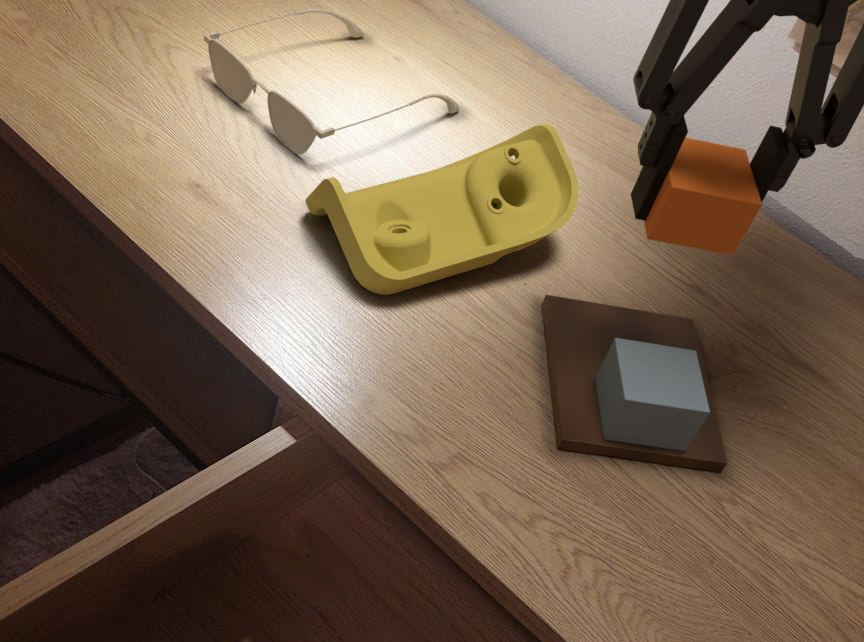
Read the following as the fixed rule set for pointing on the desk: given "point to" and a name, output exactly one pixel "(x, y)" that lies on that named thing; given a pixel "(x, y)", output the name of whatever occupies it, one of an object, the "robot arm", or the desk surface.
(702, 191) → the orange cube
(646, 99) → the robot arm
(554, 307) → the board
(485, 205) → the plastic component
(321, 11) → the eyeglasses
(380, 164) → the desk surface
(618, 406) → the grey-blue cube
